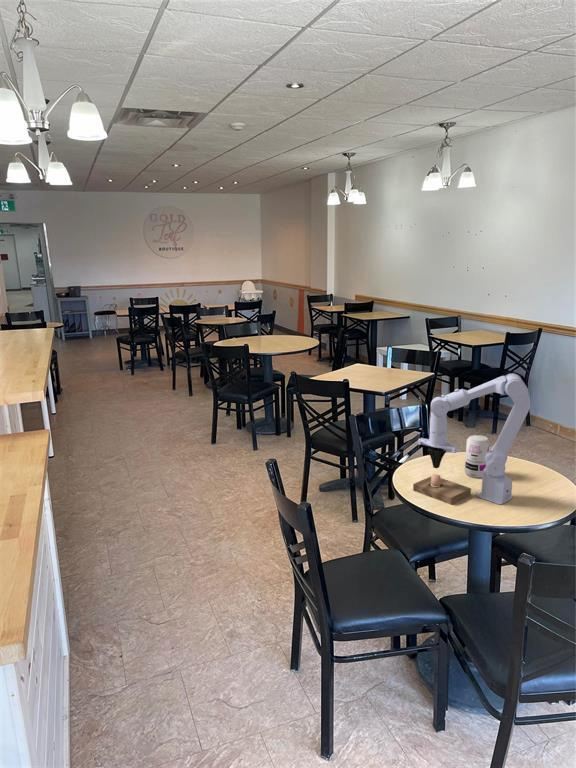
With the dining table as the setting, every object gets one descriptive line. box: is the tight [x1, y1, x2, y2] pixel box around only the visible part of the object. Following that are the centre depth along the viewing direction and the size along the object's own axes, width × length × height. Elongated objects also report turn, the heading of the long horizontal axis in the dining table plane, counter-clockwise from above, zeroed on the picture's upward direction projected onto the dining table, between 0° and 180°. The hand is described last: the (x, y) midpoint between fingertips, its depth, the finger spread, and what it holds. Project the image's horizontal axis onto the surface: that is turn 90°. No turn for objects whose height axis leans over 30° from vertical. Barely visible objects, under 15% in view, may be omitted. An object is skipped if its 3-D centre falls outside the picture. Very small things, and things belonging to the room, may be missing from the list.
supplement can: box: [464, 434, 490, 479], centre depth 212 cm, size 8×8×15 cm
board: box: [412, 476, 472, 505], centre depth 198 cm, size 16×12×2 cm
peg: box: [431, 473, 442, 488], centre depth 198 cm, size 3×3×6 cm
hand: (436, 467), depth 197 cm, fingers closed
